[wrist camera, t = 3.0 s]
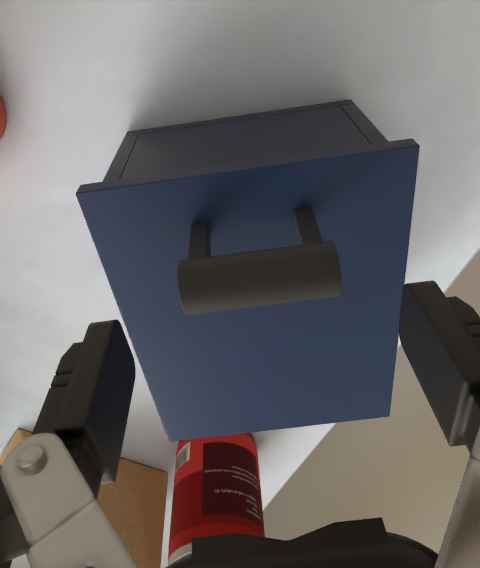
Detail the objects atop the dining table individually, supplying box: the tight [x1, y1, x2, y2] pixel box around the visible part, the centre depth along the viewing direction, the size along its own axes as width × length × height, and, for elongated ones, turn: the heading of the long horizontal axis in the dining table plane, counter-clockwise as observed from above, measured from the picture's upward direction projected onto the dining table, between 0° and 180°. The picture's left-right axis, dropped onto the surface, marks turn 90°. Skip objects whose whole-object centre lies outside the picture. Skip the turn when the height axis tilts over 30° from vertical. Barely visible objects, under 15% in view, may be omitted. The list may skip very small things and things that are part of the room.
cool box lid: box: [76, 139, 420, 442], centre depth 19 cm, size 16×13×5 cm
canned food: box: [168, 433, 265, 566], centre depth 39 cm, size 8×8×11 cm
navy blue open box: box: [103, 100, 389, 182], centre depth 26 cm, size 15×13×9 cm
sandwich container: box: [0, 429, 168, 568], centre depth 39 cm, size 9×15×15 cm, turn 58°
